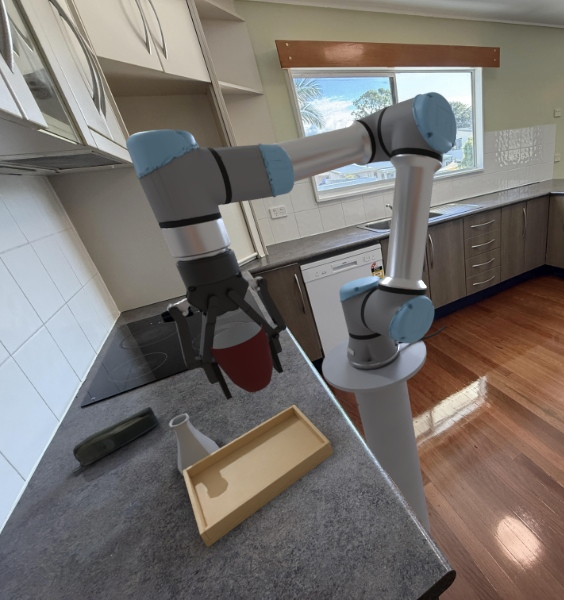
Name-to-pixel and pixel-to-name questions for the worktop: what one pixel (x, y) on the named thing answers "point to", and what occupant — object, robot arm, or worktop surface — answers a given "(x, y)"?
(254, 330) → the mug
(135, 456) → the worktop surface
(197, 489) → the tray
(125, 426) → the dark green pencil case
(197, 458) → the flask
